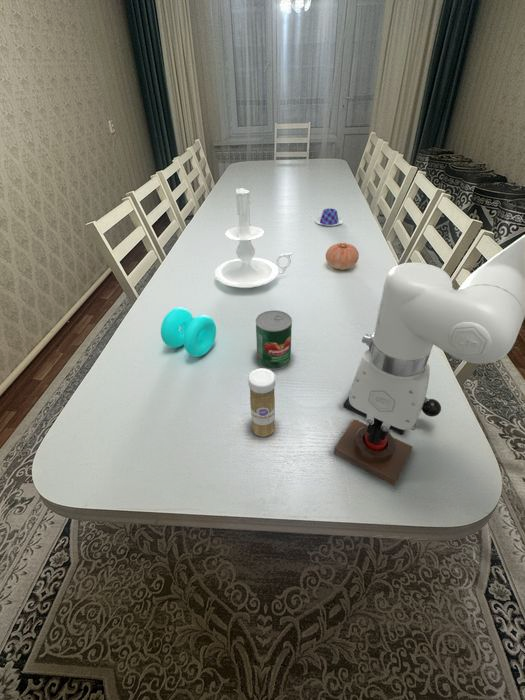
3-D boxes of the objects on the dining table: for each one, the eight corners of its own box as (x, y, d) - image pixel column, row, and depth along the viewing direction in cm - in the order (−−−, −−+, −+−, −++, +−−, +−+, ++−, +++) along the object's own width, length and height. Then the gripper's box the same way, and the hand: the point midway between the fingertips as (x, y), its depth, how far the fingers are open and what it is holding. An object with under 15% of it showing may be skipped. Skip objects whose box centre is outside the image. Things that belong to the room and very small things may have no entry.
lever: (433, 411, 67) (447, 405, 64) (428, 422, 65) (442, 416, 62) (382, 362, 68) (393, 354, 66) (375, 372, 66) (387, 364, 64)
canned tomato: (276, 375, 80) (276, 335, 73) (250, 360, 84) (247, 321, 77) (297, 357, 84) (299, 318, 78) (271, 344, 89) (271, 306, 82)
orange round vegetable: (359, 274, 117) (363, 250, 112) (326, 274, 117) (328, 251, 112) (353, 260, 126) (357, 237, 121) (322, 260, 126) (324, 238, 121)
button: (388, 441, 62) (390, 435, 61) (380, 456, 60) (382, 450, 59) (368, 432, 64) (370, 426, 63) (360, 446, 61) (361, 439, 60)
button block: (410, 452, 63) (415, 440, 61) (394, 486, 58) (399, 474, 56) (352, 424, 68) (355, 412, 66) (333, 453, 63) (335, 441, 61)
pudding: (342, 227, 150) (344, 215, 147) (314, 226, 152) (314, 214, 149) (342, 218, 160) (344, 206, 156) (315, 217, 162) (316, 205, 158)
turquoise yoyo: (194, 366, 83) (188, 331, 77) (162, 353, 87) (154, 318, 81) (220, 343, 89) (216, 309, 83) (189, 332, 94) (183, 298, 87)
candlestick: (295, 294, 108) (299, 196, 90) (213, 297, 107) (201, 200, 90) (288, 264, 124) (290, 177, 106) (216, 267, 123) (207, 180, 106)
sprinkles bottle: (255, 440, 66) (252, 388, 58) (248, 422, 69) (245, 370, 61) (278, 434, 67) (279, 382, 59) (271, 416, 70) (270, 364, 62)
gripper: (336, 348, 50) (325, 431, 62) (448, 391, 43) (412, 476, 55) (359, 323, 55) (345, 405, 67) (463, 358, 48) (427, 443, 59)
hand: (375, 437), depth 61 cm, fingers closed
